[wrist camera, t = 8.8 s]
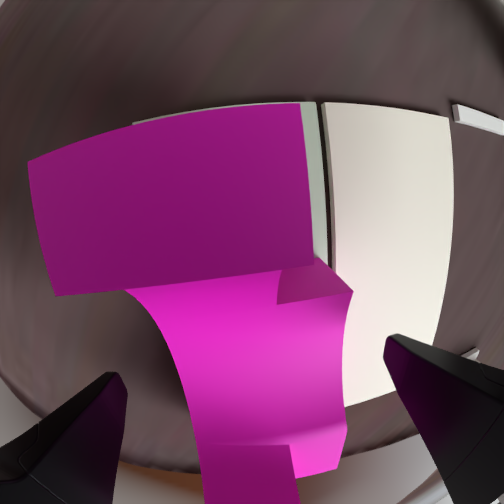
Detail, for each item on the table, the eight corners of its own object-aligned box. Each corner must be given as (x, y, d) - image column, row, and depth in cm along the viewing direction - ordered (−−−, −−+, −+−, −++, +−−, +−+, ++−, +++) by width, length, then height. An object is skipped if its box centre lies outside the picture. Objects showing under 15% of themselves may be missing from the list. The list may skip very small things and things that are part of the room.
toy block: (316, 413, 14) (352, 511, 7) (217, 427, 14) (220, 532, 7) (311, 146, 10) (447, 117, 3) (153, 165, 10) (28, 162, 3)
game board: (500, 121, 11) (505, 121, 10) (472, 356, 16) (475, 359, 16) (134, 103, 9) (131, 100, 9) (207, 431, 15) (207, 437, 14)
